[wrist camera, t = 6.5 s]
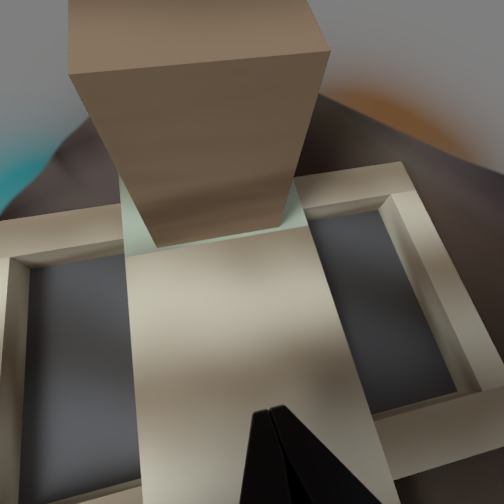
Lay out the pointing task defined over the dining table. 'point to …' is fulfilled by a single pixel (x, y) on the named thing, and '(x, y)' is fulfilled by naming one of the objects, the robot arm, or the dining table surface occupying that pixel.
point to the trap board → (237, 347)
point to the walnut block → (199, 105)
